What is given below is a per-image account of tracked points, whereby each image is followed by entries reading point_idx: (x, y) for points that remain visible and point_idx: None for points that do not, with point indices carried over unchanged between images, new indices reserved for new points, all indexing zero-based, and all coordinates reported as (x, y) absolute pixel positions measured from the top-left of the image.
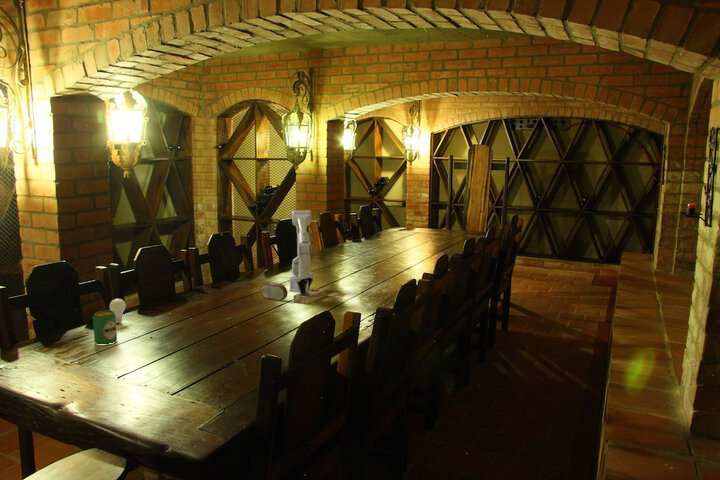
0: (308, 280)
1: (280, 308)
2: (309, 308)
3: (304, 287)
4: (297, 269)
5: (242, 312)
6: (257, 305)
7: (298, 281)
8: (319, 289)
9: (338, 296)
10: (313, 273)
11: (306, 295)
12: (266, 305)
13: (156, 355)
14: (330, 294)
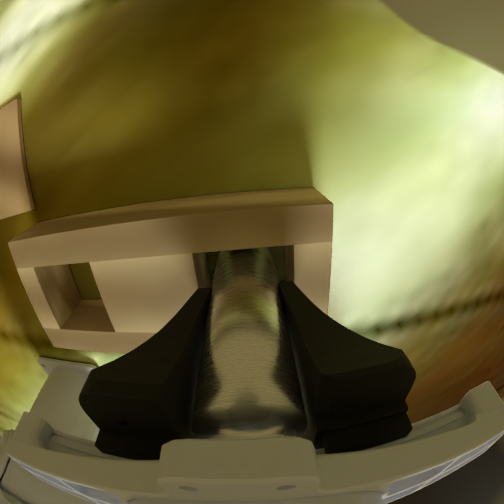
0: (216, 406)
1: (450, 284)
2: (396, 113)
3: (335, 321)
4: (78, 499)
5: (494, 347)
6: (419, 382)
7: (493, 388)
8: (32, 284)
9: (4, 132)
10: (11, 446)
11: (264, 260)
12: (414, 363)
13: None
14: (5, 211)
